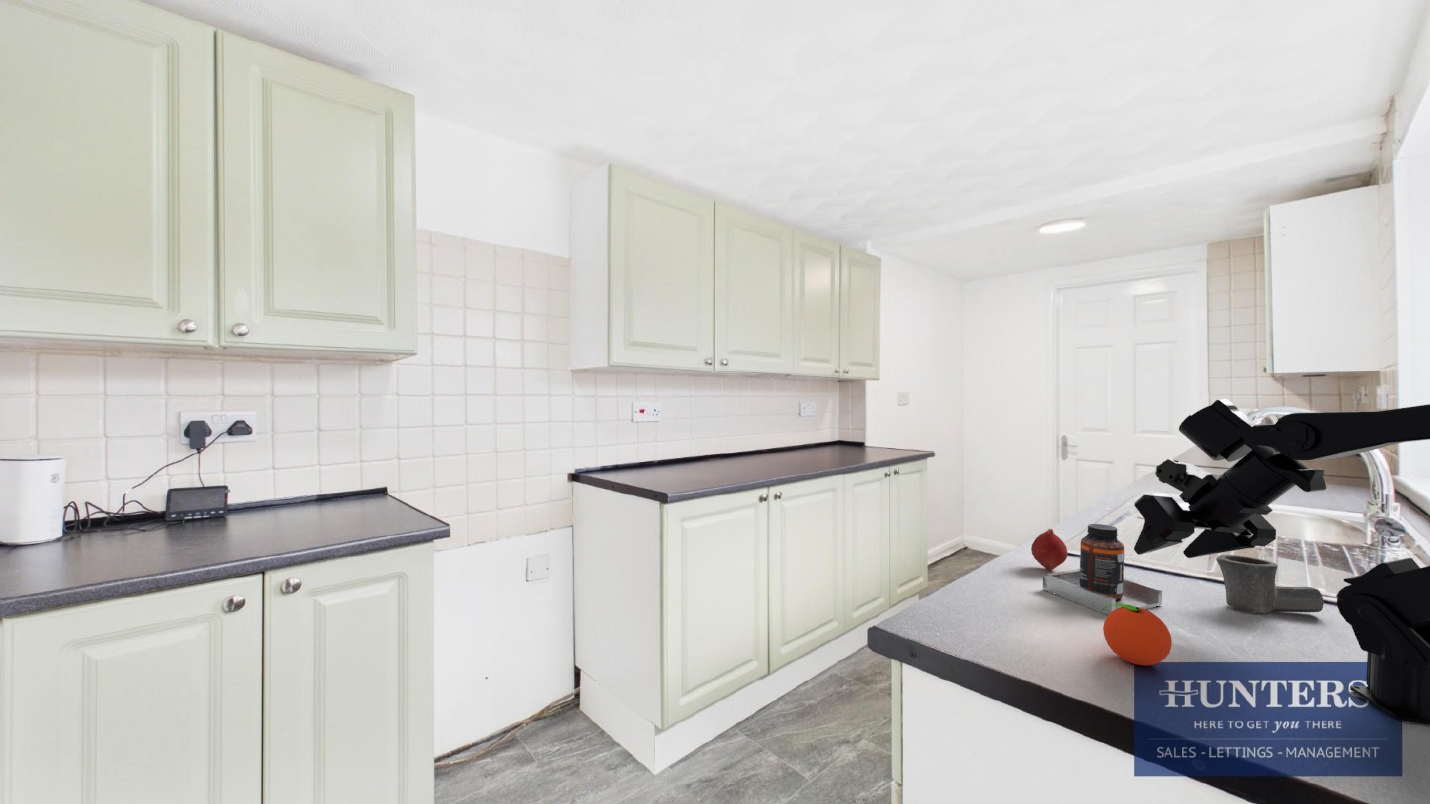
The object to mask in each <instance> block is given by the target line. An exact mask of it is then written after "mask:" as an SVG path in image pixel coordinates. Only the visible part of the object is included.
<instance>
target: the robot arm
mask: <svg viewBox="0 0 1430 804" xmlns="http://www.w3.org/2000/svg"><path fill="white" fill-rule="evenodd" d="M1178 431H1179V432H1180V433H1181V434H1182V435H1183V436H1184V437H1185V438H1187V439H1188V440H1189V441H1190V442H1191V443H1193V444H1194V445H1195V446H1196V447H1197V448H1198V449H1200V450H1201V451H1202V452H1203V453H1204V454H1206V456H1208V457H1209V458H1210V459H1211V460H1213V461H1215V462H1216V461H1218V462H1219V461H1222V460H1226V462H1228V463H1230V462H1231V463H1232V462H1234V461H1237V460H1238V461H1237V462H1236V463H1234V464H1233V465H1232V466H1230V468H1228V469H1227V470H1226V471H1224V472H1223V473H1222V474H1212V473H1210V472H1209V471H1207V470H1204V469H1203V468H1201V467H1199V466H1196V465H1194V464H1192V463H1189V462H1183V461H1179V460H1177V459H1172V458H1167V459H1166V460H1163V461H1162V463H1160V464H1159V465H1156V467H1155V477H1156V478H1158V481H1159V482H1160V483H1162V484H1167V485H1168V486H1170V487H1173V488H1174V489H1175V490H1177V491H1180V492H1182V493H1180V494H1179V495H1178V497H1179V498H1180V499H1181V500H1182V501H1183V502H1184V503H1187V504H1188V506H1187V508H1188V510H1187V509H1183V508H1182V507H1181V506H1180V505H1179V503H1178V502H1177V501H1176V500H1175V499H1174V497H1173V496H1163V495H1153V494H1142V495H1141V496H1140V498H1138V499H1137V500H1136V501H1134V504H1133V505H1134V507H1135V509H1136V510H1137V511H1138V512H1139V514H1140V515H1141V516H1142V518H1143V520H1144V523H1143V526H1142V529H1141V532H1140V534H1139V536H1138V537H1137V540H1136V542H1135V544H1134V547H1133V551H1134V552H1135V553H1136V555H1138V556H1139V555H1140V556H1141V555H1145V554H1148V553H1152V552H1156V551H1159V550H1163V549H1165V548H1168V547H1172V546H1176V545H1178V544H1182V543H1183V542H1184V541H1183V540H1184V539H1187V538H1189V537H1190V536H1192V535H1194V534H1195V530H1196V529H1197V530H1199V529H1200V530H1201V529H1202V530H1203V531H1201V532H1200V534H1198V535H1197V536H1196V538H1194V540H1192V541H1191V542H1190V543H1189V544H1188V545H1187V546H1186V547H1185V549H1184V550H1183V551H1182V553H1183V554H1184V556H1185V557H1186V558H1187V559H1193V558H1197V557H1203V556H1210V555H1215V554H1221V553H1227V552H1233V551H1240V550H1246V549H1255V547H1266V546H1268V545H1269V544H1271V543H1272V542H1273V541H1275V540H1276V539H1277V528H1275V527H1274V526H1273V525H1272V524H1271V523H1270V522H1269V521H1268V520H1267V519H1266V518H1265V517H1264V516H1267V515H1268V514H1270V513H1272V512H1273V511H1274V510H1273V509H1272V508H1271V507H1270V506H1269V505H1271V504H1272V503H1274V502H1275V501H1276V500H1278V499H1279V498H1281V496H1284V495H1285V494H1286V493H1287V492H1288V491H1290V490H1292V489H1293V488H1294V487H1295V486H1297V487H1298V488H1299V489H1300V490H1302V491H1303V492H1305V493H1312V492H1314V493H1315V492H1323V491H1326V490H1327V485H1326V480H1325V478H1324V475H1325V470H1324V469H1323V468H1310V467H1308V466H1307V465H1305V464H1304V463H1303V462H1301V461H1315V460H1318V461H1319V460H1330V459H1331V460H1332V459H1334V460H1335V459H1338V458H1344V457H1348V456H1353V455H1358V454H1361V453H1366V452H1370V451H1375V450H1378V449H1381V448H1386V447H1389V446H1394V445H1397V444H1402V443H1408V442H1417V441H1418V442H1419V441H1428V440H1429V441H1430V403H1429V404H1422V405H1421V404H1420V405H1415V406H1414V405H1413V406H1407V407H1406V406H1405V407H1400V408H1393V409H1385V410H1378V411H1377V410H1375V411H1370V410H1369V411H1320V412H1318V411H1317V412H1316V411H1315V412H1294V413H1289V414H1288V413H1287V414H1285V415H1283V416H1281V417H1279V418H1278V419H1277V421H1276V422H1275V423H1267V424H1265V423H1264V424H1263V423H1261V424H1258V423H1256V422H1255V421H1254V420H1252V419H1251V418H1250V417H1249V416H1248V415H1246V414H1244V413H1243V412H1242V411H1241V410H1239V408H1238V407H1237V406H1236V405H1235V404H1234V403H1233V402H1231V401H1230V400H1229V399H1216V400H1215V401H1214V402H1212V403H1211V404H1210V405H1208V406H1206V407H1203V408H1201V409H1199V410H1197V411H1196V412H1194V413H1193V414H1189V415H1188V416H1187V417H1185V418H1184V419H1183V421H1181V423H1180V424H1179V427H1178ZM1277 450H1278V451H1277ZM1343 582H1344V583H1347V584H1349V585H1346V586H1344V587H1342V588H1341V589H1339V591H1338V592H1337V593H1336V595H1335V597H1336V607H1337V609H1338V612H1339V614H1340V615H1341V617H1342V619H1344V620H1345V622H1346V623H1347V624H1349V625H1350V626H1351V628H1352V631H1353V633H1354V636H1355V638H1356V640H1357V642H1358V646H1359V648H1360V649H1361V651H1363V652H1366V657H1367V658H1366V660H1367V661H1366V677H1365V678H1366V683H1365V684H1366V685H1367V686H1362V685H1354V684H1350V685H1349V690H1350V691H1351V692H1354V694H1356V695H1357V696H1359V697H1360V698H1362V699H1364V700H1366V701H1367V702H1368V703H1370V704H1372V705H1374V706H1375V707H1377V708H1378V709H1380V711H1381V710H1382V711H1383V712H1384V713H1386V714H1388V715H1389V716H1390V717H1392V718H1394V719H1395V720H1398V721H1401V722H1406V723H1413V724H1420V725H1427V726H1428V725H1429V726H1430V565H1428V566H1424V567H1420V566H1419V565H1418V563H1417V562H1416V561H1415V560H1414V559H1413V558H1412V557H1406V558H1401V559H1395V560H1390V561H1385V562H1384V561H1383V562H1381V563H1378V564H1377V565H1376V566H1373V567H1372V568H1371V569H1370V570H1368V571H1367V572H1365V573H1363V574H1362V575H1361V574H1360V575H1356V576H1351V577H1347V578H1343Z"/></svg>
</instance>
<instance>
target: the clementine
mask: <svg viewBox="0 0 1430 804" xmlns="http://www.w3.org/2000/svg"><path fill="white" fill-rule="evenodd" d="M1113 605H1116V606H1121V607H1120V608H1118V609H1115V610H1113V611H1112V612H1111V613H1110V614H1109V615H1107V616H1106V618H1105V619H1104V621H1103V627H1102V631H1103V636H1104V638H1105V639H1104V640H1105V641H1106V644H1107V645H1108V647H1109V648H1110V650H1112V652H1113V653H1114V654H1115V655H1116V656H1118V657H1119V658H1120V659H1122V660H1124V661H1126V662H1128V663H1131V664H1133V665H1139V666H1145V667H1147V666H1152V665H1156V664H1159V663H1161V662H1162V661H1164V660H1165V659H1167V657H1168V655H1169V654H1170V653H1171V649H1172V643H1173V641H1172V635H1171V632H1170V630H1169V628H1168V626H1167V624H1165V623H1164V621H1163V620H1162V618H1160V617H1158V616H1157V615H1156V614H1154V613H1153V612H1151V611H1149V609H1143V608H1139V607H1135V606H1132V605H1127V604H1113ZM1108 606H1111V605H1108ZM1108 606H1106V607H1108ZM1106 607H1104V608H1106ZM1104 608H1103V609H1102V611H1103V610H1104ZM1102 611H1101V612H1102ZM1101 612H1099V615H1101V614H1102V613H1101Z"/></svg>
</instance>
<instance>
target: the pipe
mask: <svg viewBox="0 0 1430 804" xmlns="http://www.w3.org/2000/svg"><path fill="white" fill-rule="evenodd" d="M1215 560H1216V561H1217V563H1218V566H1219V567H1220V571H1221V574H1222V577H1223V583H1224V588H1225V599H1226V600H1225V601H1226V604H1227V606H1228V607H1230V608H1232V609H1234V610H1236V611H1241V612H1244V613H1251V614H1268V613H1269V612H1280V613H1281V612H1282V613H1284V612H1286V613H1319V612H1322V611H1323V609H1324V604H1325V601H1324V596H1323V595H1322V593H1321V591H1320V590H1319V589H1317V588H1315V587H1311V586H1276V575H1277V570H1278V564H1277V563H1276V562H1274V561H1270V560H1266V559H1261V558H1256V557H1252V556H1250V557H1249V556H1246V555H1245V556H1244V555H1235V554H1221V555H1217V556H1216V559H1215Z"/></svg>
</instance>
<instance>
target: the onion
mask: <svg viewBox="0 0 1430 804" xmlns="http://www.w3.org/2000/svg"><path fill="white" fill-rule="evenodd" d="M1030 550H1031V554H1032V557H1033V558H1034V559H1035V560H1036V562H1037V563H1039V564H1040V565H1041V566H1042V567H1043V568H1044V569H1045V570H1047V571H1053V570H1054V569H1056V568H1057V567H1059V566H1061V565H1062V564H1063V563H1064V562H1065V561H1066V560H1067V558H1068V548H1067V546H1066V544H1065V542H1064V541H1063V539H1062V538H1061V537H1059V536H1058V535H1057V534H1056V533H1054V529H1053V528H1048V529H1047V530H1046V531H1044V532H1042V533H1040V534H1039V535H1037V536H1036V537H1035V539H1034V540H1033V542H1032V544H1031V549H1030Z"/></svg>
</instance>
